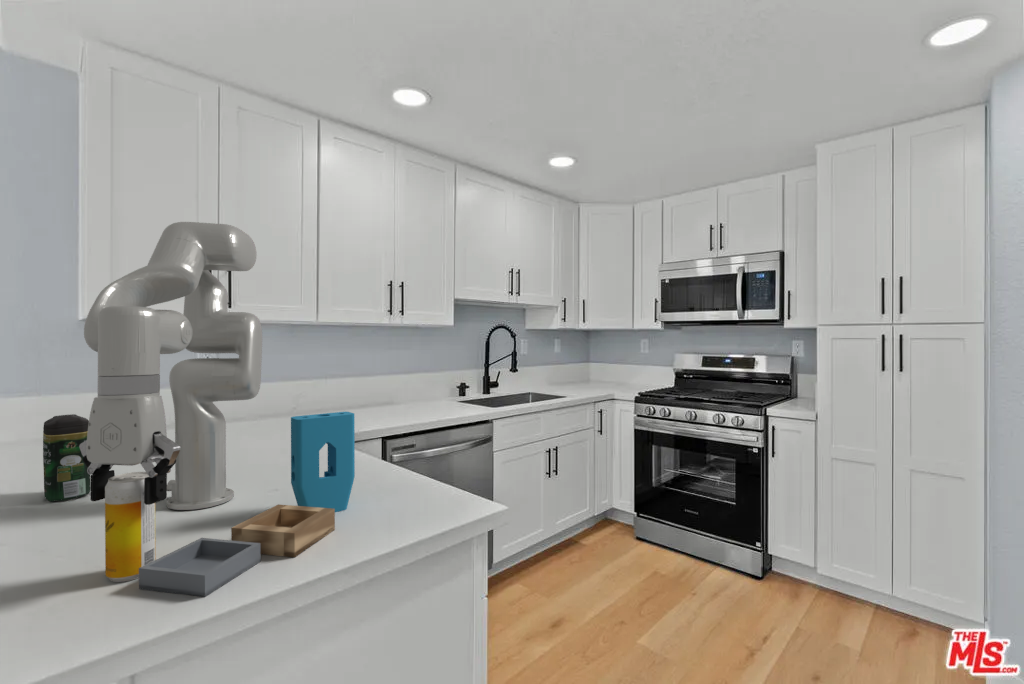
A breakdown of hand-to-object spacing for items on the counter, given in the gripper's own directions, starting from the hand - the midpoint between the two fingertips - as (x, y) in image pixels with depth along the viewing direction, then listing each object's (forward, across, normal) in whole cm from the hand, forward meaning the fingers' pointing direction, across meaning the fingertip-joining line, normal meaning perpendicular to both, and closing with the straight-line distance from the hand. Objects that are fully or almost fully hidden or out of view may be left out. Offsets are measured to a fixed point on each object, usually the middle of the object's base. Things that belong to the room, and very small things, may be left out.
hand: (128, 500), depth 75 cm
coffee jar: (+10, -50, +29) cm, 59 cm away
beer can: (+12, 0, +1) cm, 12 cm away
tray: (+12, +10, +3) cm, 16 cm away
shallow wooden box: (+11, +14, +17) cm, 25 cm away
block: (+11, +12, +32) cm, 36 cm away
